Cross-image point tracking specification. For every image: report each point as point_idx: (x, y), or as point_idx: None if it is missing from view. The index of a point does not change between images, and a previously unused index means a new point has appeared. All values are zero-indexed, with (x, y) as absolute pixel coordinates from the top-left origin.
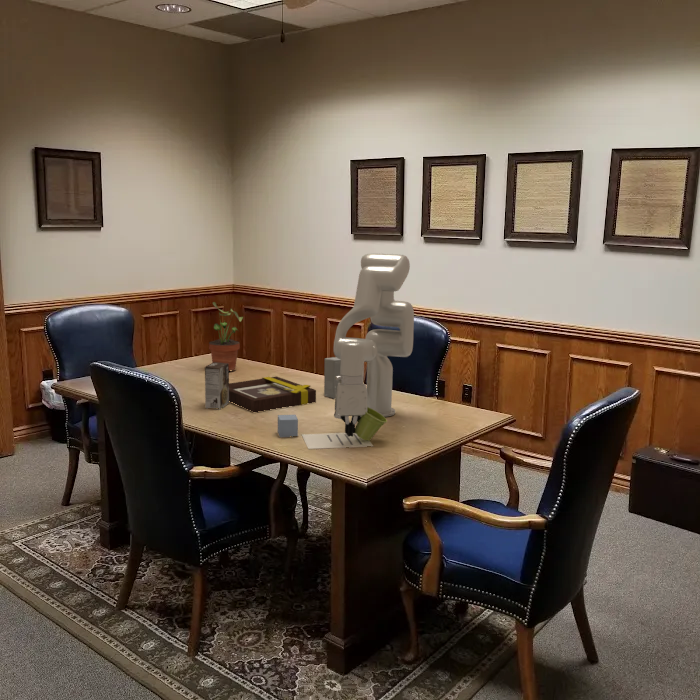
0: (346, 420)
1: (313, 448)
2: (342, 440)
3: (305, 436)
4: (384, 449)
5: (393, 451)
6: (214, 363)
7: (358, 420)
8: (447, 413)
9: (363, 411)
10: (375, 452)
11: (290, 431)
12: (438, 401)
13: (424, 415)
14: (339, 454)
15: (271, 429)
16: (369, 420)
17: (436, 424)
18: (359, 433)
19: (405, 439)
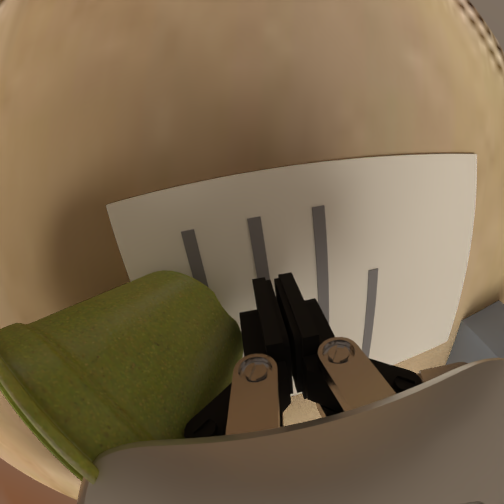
0: (360, 366)
1: (461, 154)
2: (308, 296)
3: (446, 322)
4: (45, 154)
5: (9, 130)
6: None
7: (210, 402)
8: (29, 464)
9: (124, 493)
10: (98, 81)
11: (490, 323)
12: (75, 498)
13: (60, 471)
14: (345, 37)
15: None
16: (58, 355)
17: (7, 426)
18: (198, 297)
19: (2, 326)
